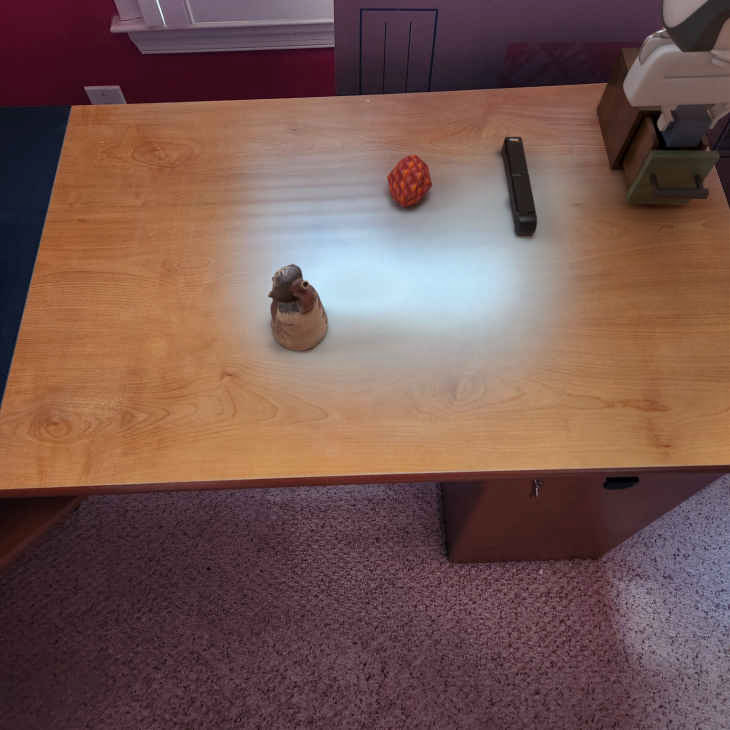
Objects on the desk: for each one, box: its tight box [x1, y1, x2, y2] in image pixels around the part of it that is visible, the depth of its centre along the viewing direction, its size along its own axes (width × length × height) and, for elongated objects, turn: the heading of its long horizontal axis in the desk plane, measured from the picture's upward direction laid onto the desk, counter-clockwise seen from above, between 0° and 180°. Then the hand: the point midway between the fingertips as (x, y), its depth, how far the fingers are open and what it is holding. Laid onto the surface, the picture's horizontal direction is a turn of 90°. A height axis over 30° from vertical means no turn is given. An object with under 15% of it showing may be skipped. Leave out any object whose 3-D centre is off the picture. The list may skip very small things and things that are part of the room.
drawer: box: [621, 115, 720, 206], centre depth 82 cm, size 16×9×9 cm, turn 178°
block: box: [661, 104, 712, 147], centre depth 77 cm, size 4×4×4 cm
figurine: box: [267, 263, 329, 351], centre depth 70 cm, size 7×7×12 cm
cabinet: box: [596, 47, 713, 171], centre depth 87 cm, size 14×10×11 cm
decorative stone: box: [386, 154, 433, 208], centre depth 84 cm, size 6×7×8 cm
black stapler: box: [501, 136, 538, 235], centre depth 85 cm, size 18×3×3 cm, turn 0°
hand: (683, 126), depth 77 cm, fingers closed on block, 4 cm apart
